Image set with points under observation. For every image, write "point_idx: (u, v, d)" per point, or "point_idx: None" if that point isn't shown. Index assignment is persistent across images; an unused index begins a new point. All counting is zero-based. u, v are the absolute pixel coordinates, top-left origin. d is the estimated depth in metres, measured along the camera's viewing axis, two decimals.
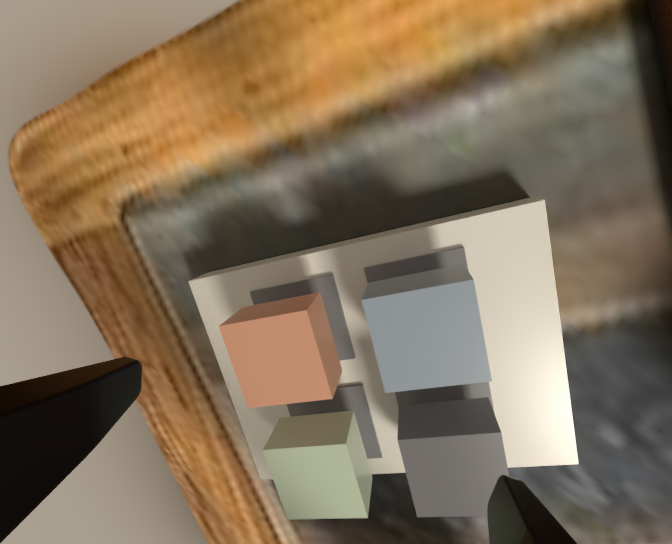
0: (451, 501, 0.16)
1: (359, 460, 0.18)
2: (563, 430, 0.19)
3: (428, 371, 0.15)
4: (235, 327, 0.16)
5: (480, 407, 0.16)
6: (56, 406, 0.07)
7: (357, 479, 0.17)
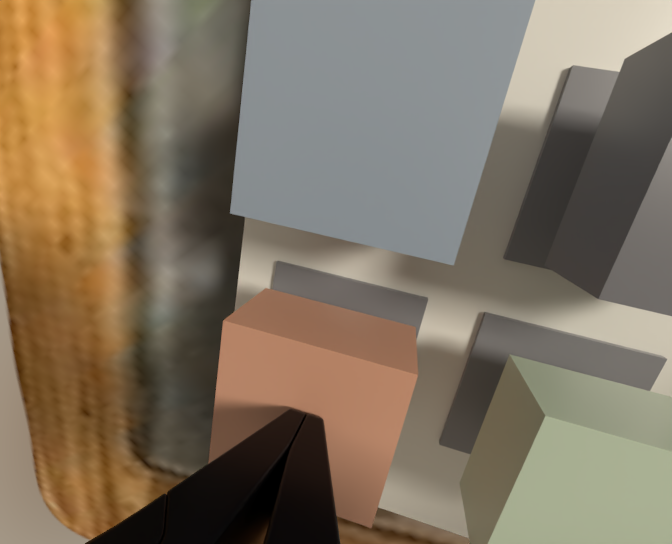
0: None
1: (623, 408, 0.08)
2: None
3: (442, 139, 0.06)
4: (217, 448, 0.09)
5: (636, 75, 0.06)
6: (269, 480, 0.06)
7: (665, 446, 0.07)
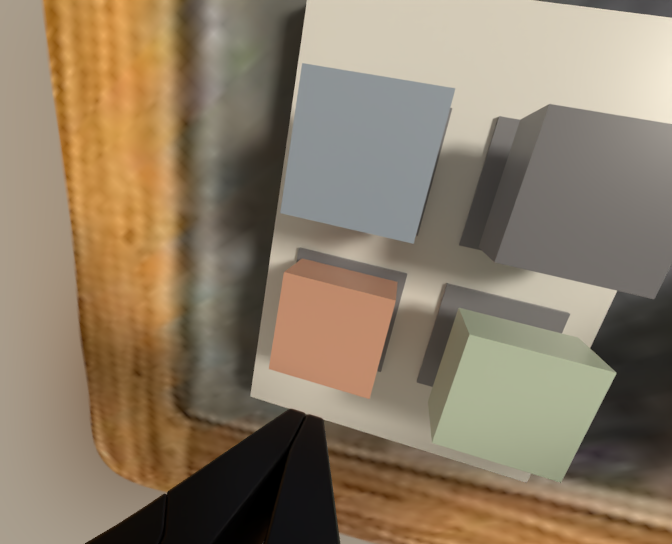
0: (649, 232, 0.09)
1: (523, 335, 0.12)
2: (659, 34, 0.12)
3: (405, 171, 0.10)
4: (275, 353, 0.15)
5: (521, 132, 0.11)
6: (269, 480, 0.06)
7: (538, 350, 0.11)
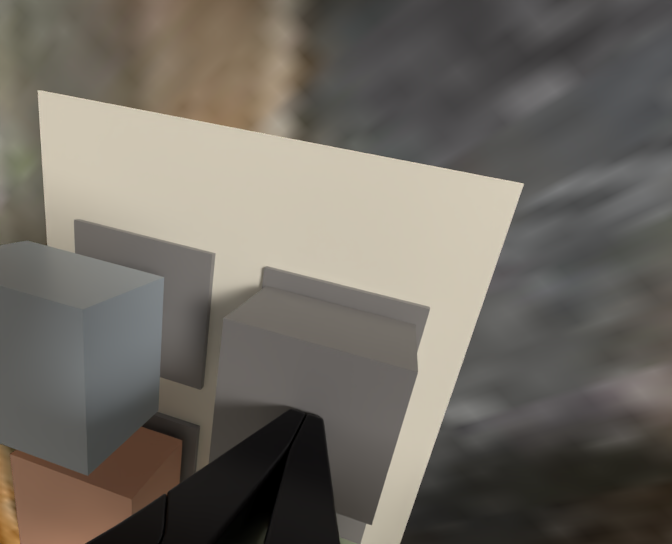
0: (351, 458, 0.08)
1: None
2: (430, 186, 0.09)
3: (56, 396, 0.08)
4: (24, 536, 0.12)
5: None
6: (269, 481, 0.06)
7: None
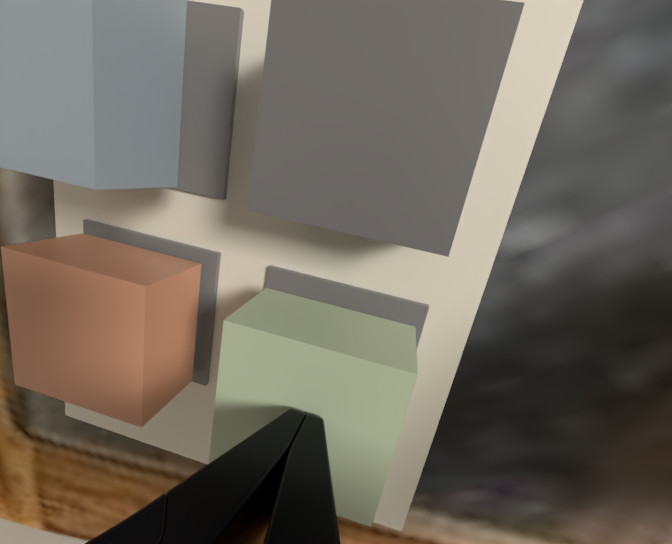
0: (428, 159, 0.07)
1: (321, 323, 0.09)
2: None
3: (56, 64, 0.06)
4: (18, 363, 0.10)
5: None
6: (269, 480, 0.06)
7: (317, 343, 0.08)
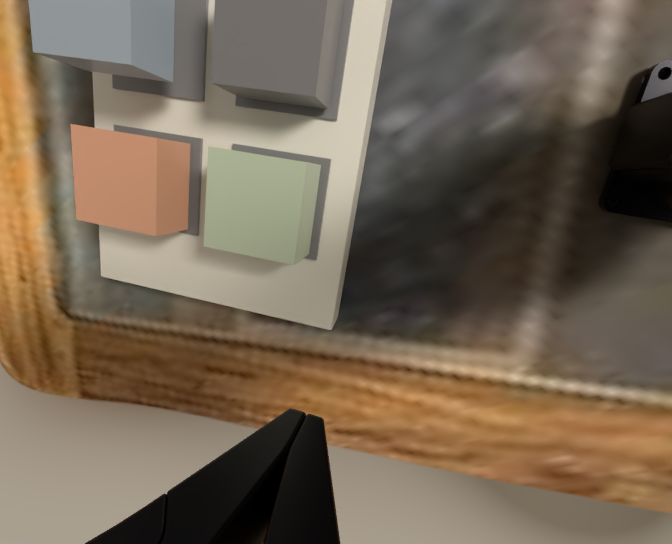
0: (299, 42, 0.13)
1: None
2: None
3: None
4: (79, 203, 0.17)
5: None
6: (269, 481, 0.06)
7: (257, 154, 0.15)
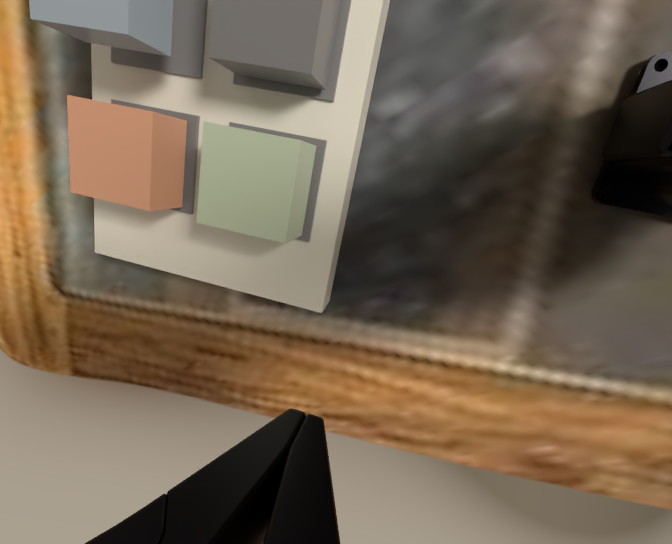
0: (297, 19, 0.13)
1: None
2: None
3: None
4: (73, 175, 0.17)
5: None
6: (269, 480, 0.06)
7: None
